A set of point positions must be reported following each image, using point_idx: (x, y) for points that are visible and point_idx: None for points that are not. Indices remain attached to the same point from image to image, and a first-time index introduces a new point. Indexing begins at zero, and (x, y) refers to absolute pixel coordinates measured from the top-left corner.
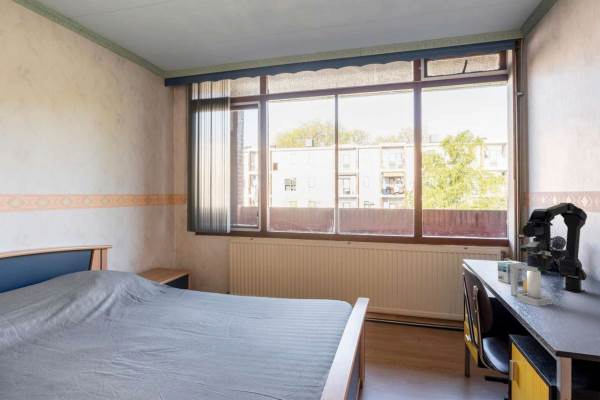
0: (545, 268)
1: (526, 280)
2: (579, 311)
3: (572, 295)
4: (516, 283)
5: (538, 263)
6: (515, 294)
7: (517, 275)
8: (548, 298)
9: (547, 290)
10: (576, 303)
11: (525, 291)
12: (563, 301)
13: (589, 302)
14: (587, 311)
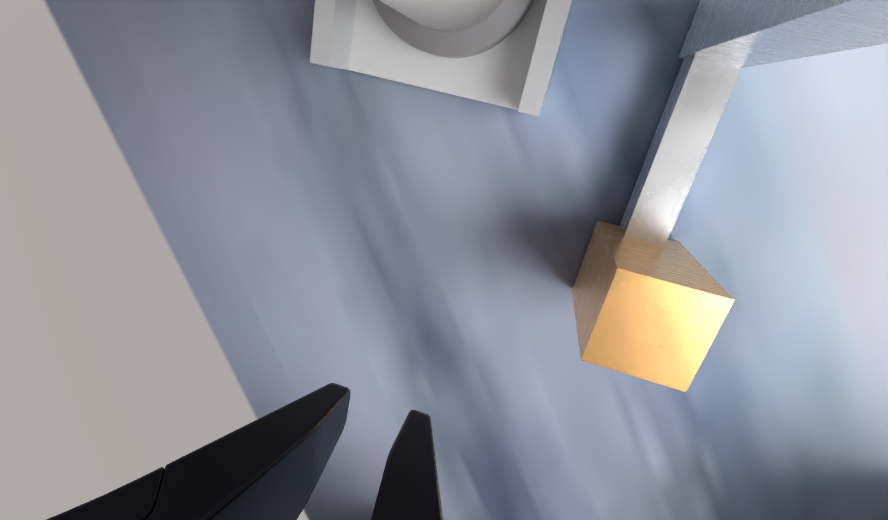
0: (312, 397)
1: (679, 299)
2: (139, 28)
3: (374, 436)
4: (752, 4)
5: (440, 516)
6: (700, 9)
7: (822, 10)
8: (318, 2)
9: (545, 460)
10: (260, 244)
11: (639, 191)
12: (329, 223)
13: (238, 337)
14: (123, 86)
